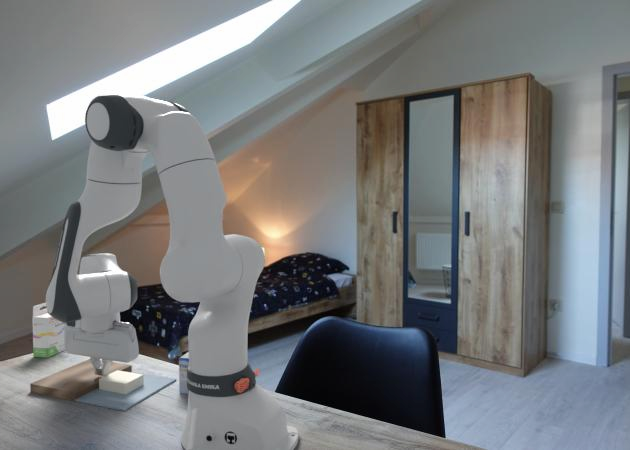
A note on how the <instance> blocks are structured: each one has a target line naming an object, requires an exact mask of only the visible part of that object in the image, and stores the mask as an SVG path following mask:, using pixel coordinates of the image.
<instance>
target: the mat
mask: <svg viewBox="0 0 630 450" xmlns="http://www.w3.org/2000/svg"><path fill="white" fill-rule="evenodd" d="M131 373H137V374H143V379H144V385H142V386H140V387H138V388H137V389H135V390H133V391H131V392H129V393H128V394H121V393H116V392H111V391H105V390H100V389H99V388H97V389H95V390H93V391H91V392H89V393H87V394H85V395H83V396H81V397H79V398H77V399H75V401H74V402H77V403H78V402H79V403H82V404H87V405H91V406H93V405H94V406H98V407H101V408H107V409H111V410H115V411H122V412H126V411H127V410H129V409H131V408H132V407H134V406H136V405H138V404H140V403H141V402H142V401H145V400H146V399H148V398H149V397H151V396H153V395H154V394H156V393H157V392H159V391H161V390H163V389H164V388H167V387H168V386H170V385H171V384H173V383H174V382H176V381H177V378H173V377H169V376H168V377H167V376H162V375H161V376H160V375H155V374H150V373H144V372H143V373H142V372H137V371H133V370H132V371H131Z"/></svg>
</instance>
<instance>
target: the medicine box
mask: <svg viewBox="0 0 630 450" xmlns="http://www.w3.org/2000/svg"><path fill="white" fill-rule="evenodd" d="M188 366H189V351H187V352H186V353H184V354H183V355H182V356H181V357H179V358H178V375H179V377H178V378H179V379H178V380H179V383H178V386H179V387H178V388H179V390H178V391H179V392H178V393H179V394H184V395H189V392H188V388H187V367H188Z"/></svg>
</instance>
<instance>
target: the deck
mask: <svg viewBox="0 0 630 450" xmlns="http://www.w3.org/2000/svg"><path fill="white" fill-rule="evenodd" d="M100 361H101V364H102V366H103V365H104V363H102V359H100ZM132 367H133V365H131V364H125V363H119V362H115V361H113V362H112V364H111V365H110V367H109V374H111V373H113V372H115V371H117V370H119V371H125V372H131V371H133V368H132ZM102 377H104V376H101V375H95V368H94V367H93V365H92V363H91V361H90V358H89V359H86V360H84V361H82V362H79V363H77V364H75V365H72V366H69V367H68V368H67V367H66V368H65V369H62V370H60V371H57V372H55V373H53V374H50V375H47V376H45V377H43V378H40V379H38V380H35V381H33V382H31V383H29V384H30V385H29V387H30V393H35V394H40V395H44V396H49V397H53V398H59V399H63V400H68V401H73V402H76V401H75V399H77V398H79V397H81V396H83V395H85V394H87V393H89V392H91V391H93V390H95V389H97V388H99V379H100V378H102Z"/></svg>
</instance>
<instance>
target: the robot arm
mask: <svg viewBox="0 0 630 450" xmlns="http://www.w3.org/2000/svg"><path fill="white" fill-rule="evenodd" d="M85 111H86V112H85V117H84V124H85V128H86V132H87V134H88V137H89V138H90V140H91V141H90V146H89V151H88V158H87V163H86V164H87V166H86V179H85V180H86V182H85V186H84V190H83V192H82V193H81V195H80V196H79V197H80V198H79V199H78V200H76V201H74V202H73V203H71V204H70V205H69V206H68V208H67V212H66V214H65V217H64V220H63V225H62V228H61V233H60V237H59V241H58V246H57V251H56V256H55V262H54V265H53V269H52V272H51V273H52V274H51V277H50V280H49V283H48V286H47V287H48V288H47V290H46V294H45V303H46V306H45V307H46V308H47V311H48V314H49V315H50V316H52V317H53V318H55V319H57V320H58V321H61V322H63V323H64V325H65V326H67V327H66V328H65V330H64V347H65V350H64V351H66V353H67V354H69V355H75V356H76V355H77V356H82V357H87V358H89V359H90V361H91V363H92V365H93V367H94V368H95V375H101V376H106V375H108V374H109V367H110V365H111V364H112V362H118V363H119V362H121V363H124V364H125V363H127V364H128V363H131V362H133V361H135V360H136V359H137V358H138V357H139V355H140V352H139V351H140V350H139V343H138V342H139V341H138V336H137V331H136V328H135V327H134V326H133V324H131V323H130V322H128V321H127V322H126V321H125V322H124V321H121V314H120V313H122V312H125V311H127V310H130V309H131V308H132V307H133V306H134V305H135V304H136V302H137V300H138V282H137V281H138V280H137V279H136V277H135V276H134V275H132V273H130V272H128V271H126V270H123V269H122V268H121V267H120V266H119V265H118V261H117V255H115V254H113V253H110V252H103V253H93V254H92V253H91V254H86V255H85V256H83V257H82V251H83V247H84V245H85V244H84V243H85V241H86V240H87V239H88V238H89V236H91V235H92V234H93V233H95V232H97V231H98V230H100V229H102V228H105V227H107V226H109V225H112V224H115V223H117V222H119V221H122V220H123V219H125V218H127V217H129V216H130V215H131V214H133V213H134V211H135V210H136V209H137V208H138V206H139V205H140V201H141V197H142V187H143V182H142V180H143V163H144V160H145V158H146V156H147V155H149V154H151V156H152V158H153V159H154V163H155V167H156V172H157V175H158V178H159V181H160V185H161V189H162V193H163V196H164V200H165V204H166V207H167V211H168V212H167V213H168V215H169V244H168V247H167V251H166V253H165V255H164V257H163V258H162V261H161V263H160V266H159V277H160V282H161V286H162V288H163V289H164V291H165V292H166V294H167V295H168V296H169V297H170V298H172V299H174V300H176V301H178V302H181V303H199V306H198V307H197V311H196V314H195V315H194V317H193V318H192V320H191V322H190V324H189V325H188V326H189V327H188V331H187V332H188V333H187V334H188V336H187V337H188V338H187V339H188V352H189V366H188V367H187V388H188V392H189V394H188V396H187V397H188V399H187V409H186V418H185V423H184V429H183V431H182V432H183V433H182V435H181V438H180V440H181V441H180V443H181V445H182V447H183V449H184V450H294V449H296V447H297V445H298V443H299V430H298V428H296V427H294V426H291V425H288V422H287V415H286V411H285V408H284V407H283V405H282V404H281V403H280V402H279V401H278V400H276V399H275V398H274V397H273V396H271V395H270V394H269V393H268V392H267V391H266V390H264V389H263V387H261V386H260V385H259V384H258V383H257V379H256V378H257V377H258V376H259V375H260V374H261V373H260V370H261V369H260V368H257V369H256V370H254V371H253V369H252V367H251V365H250V363H249V361H248V331H249V330H248V329H249V320H250V315H251V314H250V313H251V309H252V304H253V299H254V295H255V290H256V287H257V282H258V279H259V278H260V275H261V274H262V272H263V270H264V268H265V262H266V259H265V253H264V249H263V248H262V246H261V245H260V243H259V242H258V241H256V240H255V239H254V238H252V237H251V236H250V237H249V236H246V235H242V234H236V233H232V234H225V235H224V229H223V228H224V227H223V213H224V209H225V207H226V206H227V200H228V197H227V194H226V190H225V187H224V183H223V180H222V177H221V174H220V173H221V172H220V170H219V167H218V164H217V161H216V158H215V155H214V152H213V149H212V146H211V144H210V142H209V139H208V137H207V135H206V133H205V131H204V129H203V127H202V125H201V124H200V121H199V120H198V119H197V118H196V116H194V115H193V114H191V113H190V111H189V110H188V109H187V108H185V107H184V106H183V105H180V104H179V103H175V102H172V101H170V100H169V101H168V100H167V101H164V100H160V99H156V98H150V97H148V96H142V95H131V94H130V95H125V94H124V95H122V94H121V95H120V94H118V93H108V94H101V95H98V96H95V97H94V98H92V100H91V101H90V102H89V103H88V106H87V109H86V110H85ZM78 271H79V273H78ZM100 360H102V363H104V365H103V366H102V364H101V361H100Z"/></svg>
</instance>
